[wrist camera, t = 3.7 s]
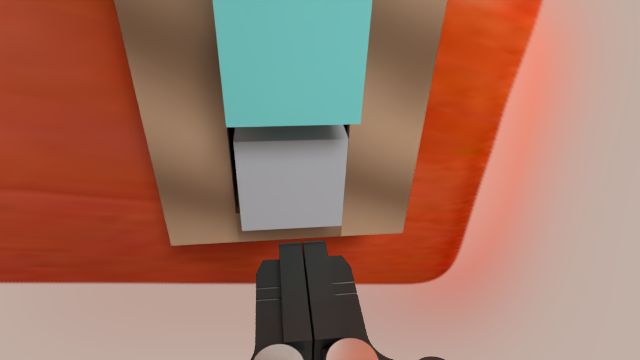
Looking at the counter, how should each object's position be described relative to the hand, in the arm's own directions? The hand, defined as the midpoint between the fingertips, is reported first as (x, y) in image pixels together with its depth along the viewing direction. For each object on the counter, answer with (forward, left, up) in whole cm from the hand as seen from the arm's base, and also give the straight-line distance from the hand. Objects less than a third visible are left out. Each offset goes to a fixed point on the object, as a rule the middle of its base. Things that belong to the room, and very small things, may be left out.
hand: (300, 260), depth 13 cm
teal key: (-6, 0, -7) cm, 9 cm away
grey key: (0, 0, -8) cm, 8 cm away
